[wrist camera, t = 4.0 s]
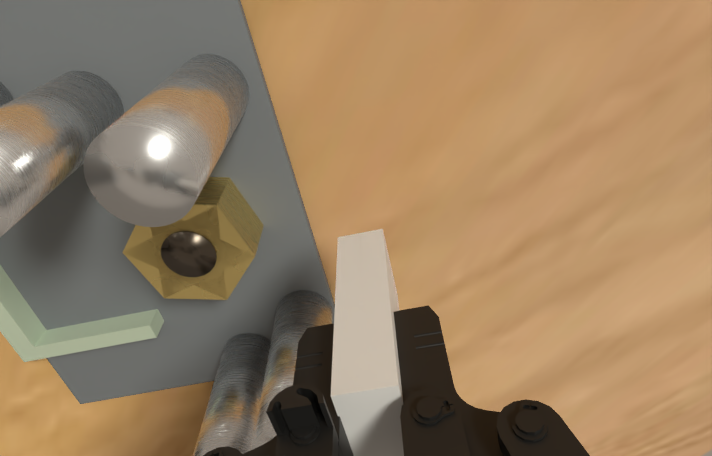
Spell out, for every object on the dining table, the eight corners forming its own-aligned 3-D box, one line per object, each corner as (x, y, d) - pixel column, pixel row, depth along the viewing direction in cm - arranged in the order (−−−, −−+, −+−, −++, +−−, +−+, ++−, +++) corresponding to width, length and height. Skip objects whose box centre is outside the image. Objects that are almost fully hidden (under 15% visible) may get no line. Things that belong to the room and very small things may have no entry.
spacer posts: (131, 393, 28) (61, 545, 21) (-75, 77, 19) (-312, 160, 12) (347, 356, 27) (347, 503, 20) (234, 0, 18) (166, 44, 11)
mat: (83, 398, 29) (80, 403, 28) (-179, 37, 19) (-189, 39, 18) (349, 351, 27) (349, 357, 27) (219, -68, 17) (216, -68, 17)
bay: (36, 344, 26) (24, 362, 25) (-88, 176, 21) (-110, 188, 20) (164, 321, 25) (156, 337, 24) (66, 141, 21) (51, 152, 19)
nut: (197, 284, 24) (182, 320, 22) (123, 197, 22) (98, 228, 20) (279, 247, 23) (272, 280, 21) (211, 151, 21) (195, 177, 19)
